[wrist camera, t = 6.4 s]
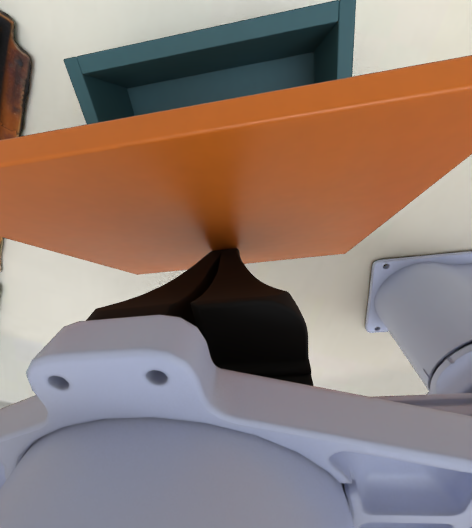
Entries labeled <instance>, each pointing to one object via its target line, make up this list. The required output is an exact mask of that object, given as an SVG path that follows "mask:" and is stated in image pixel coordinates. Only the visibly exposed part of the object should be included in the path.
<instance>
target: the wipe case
mask: <svg viewBox="0 0 472 528" xmlns="http://www.w3.org/2000/svg"><path fill="white" fill-rule="evenodd" d="M355 10H356V0H336V1H331V2H326V3H322V4H317V5H313V6H308V7H303V8H299V9H294V10H289V11H285V12H280V13H276V14H271V15H266V16H262V17H257V18H252V19H248V20H243V21H238V22H234V23H229V24H225V25H220V26H215V27H211V28H206V29H201V30H197V31H192V32H187V33H183V34H178V35H174V36H169V37H164V38H160V39H155V40H150V41H146V42H141V43H137V44H132V45H127V46H123V47H118V48H113V49H109V50H104V51H99V52H95V53H90V54H86V55H81V56H77V57H72V58H67V59H64V63H65V65H66V68H67V71H68V74H69V76H70V79H71V82H72V85H73V87H74V90H75V93H76V96H77V98H78V101H79V104H80V107H81V109H82V112H83V115H84V118H85V120H86V123H87V124H93V123H98V122H104V121H110V120H115V119H121V118H126V117H132V116H137V115H143V114H148V113H154V112H160V111H165V110H171V109H176V108H182V107H187V106H193V105H198V104H204V103H210V102H215V101H221V100H226V99H232V98H237V97H243V96H248V95H254V94H259V93H265V92H271V91H276V90H282V89H287V88H293V87H298V86H304V85H309V84H315V83H321V82H326V81H332V80H337V79H343V78H348V77H352V67H353V48H354V29H355Z"/></svg>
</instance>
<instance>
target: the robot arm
mask: <svg viewBox="0 0 472 528" xmlns="http://www.w3.org/2000/svg"><path fill="white" fill-rule="evenodd" d="M385 264H387V266H385V267H383V266H384V265H385ZM375 327H377V328H375ZM365 329H366V330H367V332H370V333H373V332H388V331H389V332H390V334H391V335H392V337H393V338H394V340H395V341H396V343H397V344H398V346H399V347H400V349H401V350H402V352H403V353H404V355H405V356H406V358H407V359H408V361H409V362H410V364H411V365H412V367H413V368H414V370H415V371H416V373H417V374H418V376H419V377H420V378H421V380H422V381H423V383H424V384H425V386H426V387H427V389H428V390H429V392H428V393H427V395H406V396H380V397H368V396H362V395H357V394H352V393H347V392H341V391H336V390H331V389H326V388H320V387H315V386H313V382H312V377H311V367H310V363H309V359H308V332H307V327H306V323H305V321H304V318H303V316H302V314H301V312H300V310H299V308H298V306H297V305H296V303H295V301H294V300H293V298H292V297H291V295H290V294H289V293H288V292H287V291H283V290H279V289H276V288H273V287H270V286H268V285H266V284H264V283H262V282H261V281H259V280H258V279H257V278H255V277H254V276H253V275H252V274H251V273H250V272H249V270H248V269H247V268H246V267H245V265H244V263H243V262H242V260H241V258H240V252H239V249H237V248H232V249H223V250H214V251H211V252H209V253H208V254H207V255H206V256H204V257H203V258H202V259H201V260H200V261H198V262H197V263H196V264H195V265H194V266H192V267H191V268H190V269H188V270H187V271H185V272H184V273H183V274H181V275H180V276H178V277H177V278H175V279H174V280H172V281H170V282H168V283H167V284H165V285H163V286H161V287H159V288H157V289H154V290H152V291H150V292H148V293H146V294H143V295H140V296H138V297H135V298H132V299H129V300H126V301H123V302H120V303H116V304H113V305H109V306H105V307H101V308H97V309H95V311H94V312H93V313H92V314H91V315H90V316H89V318H88V319H87V320H86V321H79V322H76V323H73V324H70V325H67V326H65V327H63V328H62V329H61V330H60V331H59V332H58V333H57V334H56V336H55V337H54V338H53V339H52V340H51V341H50V342H49V343H48V344H47V345H46V346H45V347H44V348H43V349H42V350H41V351H40V352H39V353H38V354H37V355H36V357H35V358H34V359H33V360H32V361H31V363H30V365H29V367H28V369H27V371H26V374H27V378H28V380H29V383H30V385H31V388H32V390H33V391H34V393H35V394H36V395H35V396H32V397H30V398H27V399H25V400H22V401H20V402H17V403H14V404H12V405H9V406H7V407H4V408H2V409H0V528H472V251H467V252H457V253H446V254H436V255H426V256H415V257H405V258H395V259H384V260H377V261H375V262H374V263H373V265H372V273H371V281H370V290H369V299H368V307H367V316H366V325H365Z"/></svg>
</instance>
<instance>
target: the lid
mask: <svg viewBox="0 0 472 528" xmlns="http://www.w3.org/2000/svg"><path fill="white" fill-rule="evenodd" d="M471 154H472V55H470V56H465V57H459V58H454V59H448V60H443V61H437V62H432V63H426V64H421V65H415V66H409V67H404V68H398V69H393V70H387V71H382V72H376V73H371V74H365V75H359V76H354V77H348V78H343V79H337V80H332V81H326V82H321V83H315V84H309V85H304V86H298V87H293V88H287V89H282V90H276V91H271V92H265V93H259V94H254V95H248V96H243V97H237V98H232V99H226V100H221V101H215V102H210V103H204V104H198V105H193V106H187V107H182V108H176V109H171V110H165V111H160V112H154V113H148V114H143V115H137V116H132V117H126V118H121V119H115V120H110V121H104V122H98V123H93V124H87V125H82V126H76V127H71V128H65V129H60V130H54V131H48V132H43V133H37V134H32V135H26V136H21V137H15V138H10V139H4V140H0V237H4V238H7V239H11V240H14V241H18V242H22V243H25V244H29V245H32V246H36V247H40V248H43V249H47V250H51V251H54V252H58V253H61V254H65V255H69V256H72V257H76V258H79V259H83V260H87V261H90V262H94V263H97V264H101V265H105V266H108V267H112V268H115V269H119V270H123V271H126V272H130V273H134V274H137V275H138V274H148V273H157V272H167V271H177V270H187V269H190V268H191V267H192V266H194V265H195V264H196V263H197V262H198V261H200V260H201V259H202V258H203V257H204V256H206V255H207V254H208V253H209V252H211V251H214V250H223V249H232V248H237V249H239V252H240V258H241V260H242V262H243V263H244V264H246V263H256V262H266V261H276V260H286V259H296V258H305V257H315V256H325V255H335V254H345V253H347V252H348V251H349V250H350V249H352V248H353V247H354V246H356V245H357V244H358V243H359V242H361V241H362V240H363V239H364V238H366V237H367V236H368V235H369V234H371V233H372V232H373V231H375V230H376V229H377V228H378V227H380V226H381V225H382V224H383V223H385V222H386V221H387V220H389V219H390V218H391V217H392V216H394V215H395V214H396V213H397V212H399V211H400V210H401V209H403V208H404V207H405V206H406V205H408V204H409V203H410V202H411V201H413V200H414V199H415V198H416V197H418V196H419V195H420V194H422V193H423V192H424V191H425V190H427V189H428V188H429V187H430V186H432V185H433V184H434V183H436V182H437V181H438V180H439V179H441V178H442V177H443V176H444V175H446V174H447V173H448V172H450V171H451V170H452V169H453V168H455V167H456V166H457V165H458V164H460V163H461V162H462V161H463V160H465V159H466V158H467V157H469V156H470V155H471Z"/></svg>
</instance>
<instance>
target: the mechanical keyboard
mask: <svg viewBox="0 0 472 528" xmlns="http://www.w3.org/2000/svg"><path fill="white" fill-rule="evenodd" d="M13 32H14V22H13V20H12V19H11V17H10V16H9V15H7V14H6V13H4V12H2V11H0V140H4V139H10V138H15V137H20V132H21V131H22V126H23V113H24V106H25V101H26V97H27V94H28V88H29V76H30V70H31V65H30V61H31V59H30V58H29V56H28V54H27V53H26V52H25V51H24V50H23V49H22V48H20V47H19V46H18V45H17V44H16V43H15V41H14V33H13ZM2 246H3V237H0V272H1V271H2V269H1V267H2V266H1V253H2Z"/></svg>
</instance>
